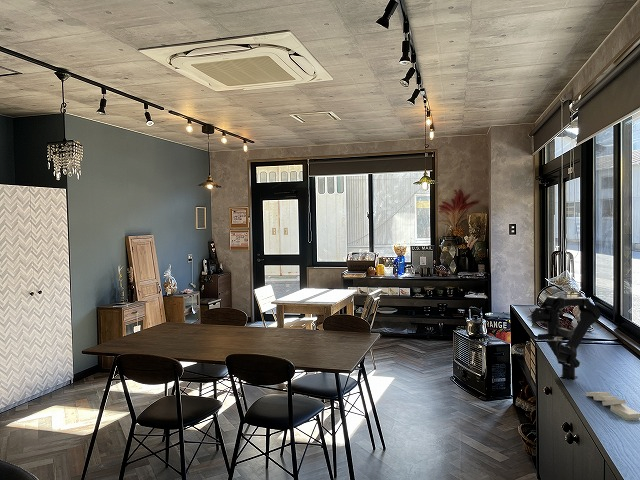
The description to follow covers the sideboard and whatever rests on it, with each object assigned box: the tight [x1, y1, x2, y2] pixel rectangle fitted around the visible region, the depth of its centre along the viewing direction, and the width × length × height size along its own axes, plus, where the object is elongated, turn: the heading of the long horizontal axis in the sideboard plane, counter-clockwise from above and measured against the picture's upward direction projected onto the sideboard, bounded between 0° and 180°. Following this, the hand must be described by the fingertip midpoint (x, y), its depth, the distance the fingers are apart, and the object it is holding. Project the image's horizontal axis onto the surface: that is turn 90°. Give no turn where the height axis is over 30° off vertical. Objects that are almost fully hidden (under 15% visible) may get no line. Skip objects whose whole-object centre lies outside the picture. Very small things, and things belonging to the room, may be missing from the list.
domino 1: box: [585, 391, 611, 397], centre depth 215 cm, size 2×5×10 cm
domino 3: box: [601, 398, 627, 407], centre depth 204 cm, size 2×5×10 cm
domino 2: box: [592, 395, 618, 402], centre depth 210 cm, size 2×5×10 cm
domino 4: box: [610, 404, 640, 419], centre depth 198 cm, size 2×5×10 cm
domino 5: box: [609, 407, 640, 421], centre depth 198 cm, size 2×5×10 cm
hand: (556, 356), depth 236 cm, fingers closed
